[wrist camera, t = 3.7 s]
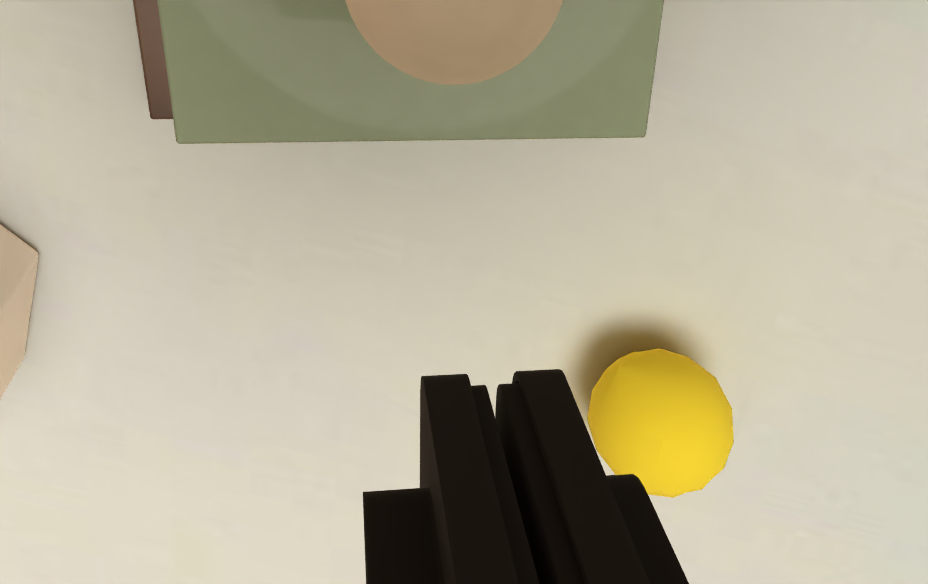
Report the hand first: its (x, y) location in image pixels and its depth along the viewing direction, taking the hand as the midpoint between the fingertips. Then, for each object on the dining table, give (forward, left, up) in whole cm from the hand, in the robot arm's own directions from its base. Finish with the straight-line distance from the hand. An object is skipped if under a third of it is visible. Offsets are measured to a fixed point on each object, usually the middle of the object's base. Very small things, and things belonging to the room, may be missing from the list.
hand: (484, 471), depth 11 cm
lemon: (+14, +10, -21) cm, 27 cm away
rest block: (-3, 0, -20) cm, 20 cm away
